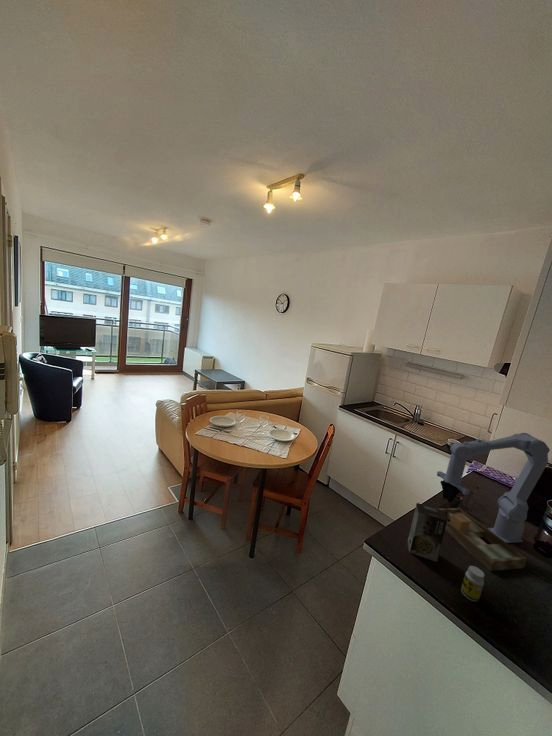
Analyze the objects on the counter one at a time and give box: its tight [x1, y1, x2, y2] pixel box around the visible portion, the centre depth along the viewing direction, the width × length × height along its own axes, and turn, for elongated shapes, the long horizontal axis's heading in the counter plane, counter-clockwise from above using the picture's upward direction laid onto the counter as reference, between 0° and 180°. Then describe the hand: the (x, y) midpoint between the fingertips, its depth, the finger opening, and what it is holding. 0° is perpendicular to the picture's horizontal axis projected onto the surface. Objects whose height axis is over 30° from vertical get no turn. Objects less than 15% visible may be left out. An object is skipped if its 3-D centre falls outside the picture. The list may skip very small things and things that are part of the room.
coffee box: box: [407, 502, 448, 563], centre depth 102 cm, size 9×6×16 cm
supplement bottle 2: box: [460, 565, 485, 602], centre depth 87 cm, size 5×5×8 cm
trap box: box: [437, 507, 528, 572], centre depth 114 cm, size 16×28×4 cm, turn 14°
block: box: [449, 514, 470, 531], centre depth 116 cm, size 4×4×4 cm
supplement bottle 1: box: [445, 492, 465, 509], centre depth 134 cm, size 6×6×11 cm
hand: (447, 499), depth 123 cm, fingers closed
